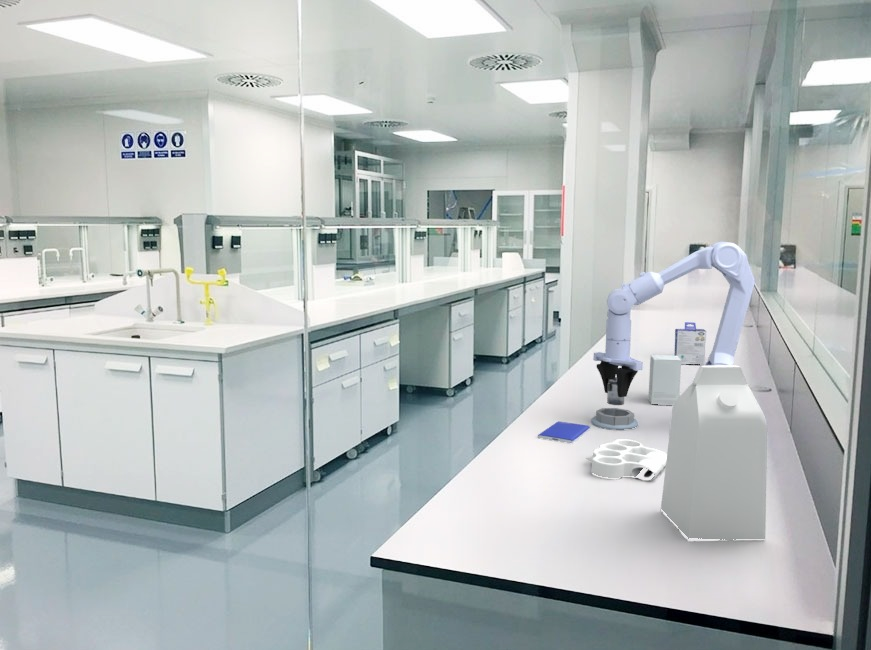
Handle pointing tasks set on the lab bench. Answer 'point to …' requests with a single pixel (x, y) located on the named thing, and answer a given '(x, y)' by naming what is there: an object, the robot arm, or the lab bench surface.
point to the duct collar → (614, 419)
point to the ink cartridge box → (690, 344)
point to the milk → (717, 458)
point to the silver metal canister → (613, 392)
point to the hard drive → (564, 432)
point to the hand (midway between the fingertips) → (615, 394)
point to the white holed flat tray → (626, 459)
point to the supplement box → (664, 379)
